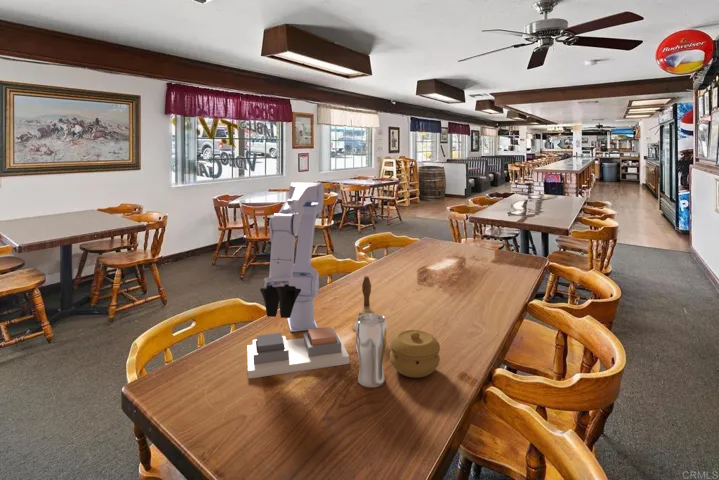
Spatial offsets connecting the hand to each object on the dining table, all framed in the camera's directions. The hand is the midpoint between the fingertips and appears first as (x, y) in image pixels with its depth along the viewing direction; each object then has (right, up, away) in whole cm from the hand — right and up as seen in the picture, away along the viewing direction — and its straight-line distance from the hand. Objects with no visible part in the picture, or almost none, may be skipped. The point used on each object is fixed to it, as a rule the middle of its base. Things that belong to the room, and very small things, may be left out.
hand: (278, 317), depth 98 cm
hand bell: (+22, -8, +22) cm, 32 cm away
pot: (+33, -13, -1) cm, 35 cm away
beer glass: (+22, -14, -5) cm, 27 cm away
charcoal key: (-2, -10, +3) cm, 10 cm away
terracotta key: (+10, -9, +6) cm, 15 cm away
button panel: (+4, -11, +5) cm, 13 cm away
